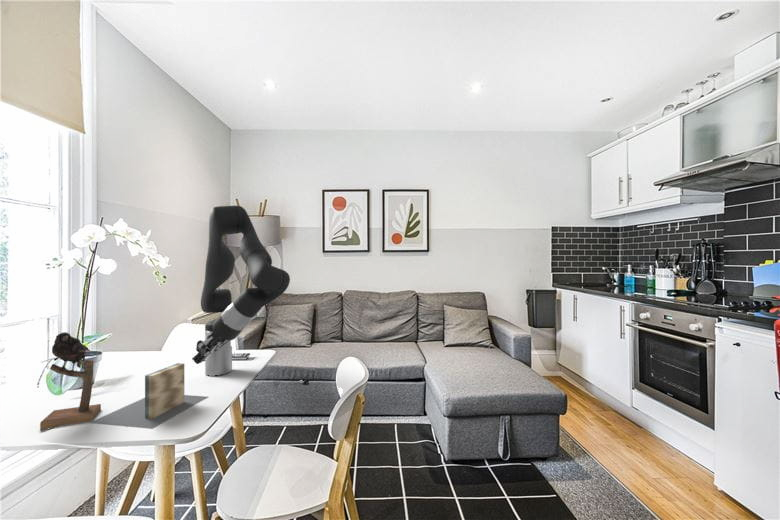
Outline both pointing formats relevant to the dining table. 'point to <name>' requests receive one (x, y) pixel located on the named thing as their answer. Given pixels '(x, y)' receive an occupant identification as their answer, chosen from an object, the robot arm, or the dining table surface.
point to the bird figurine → (74, 353)
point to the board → (164, 390)
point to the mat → (136, 414)
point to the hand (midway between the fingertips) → (196, 361)
